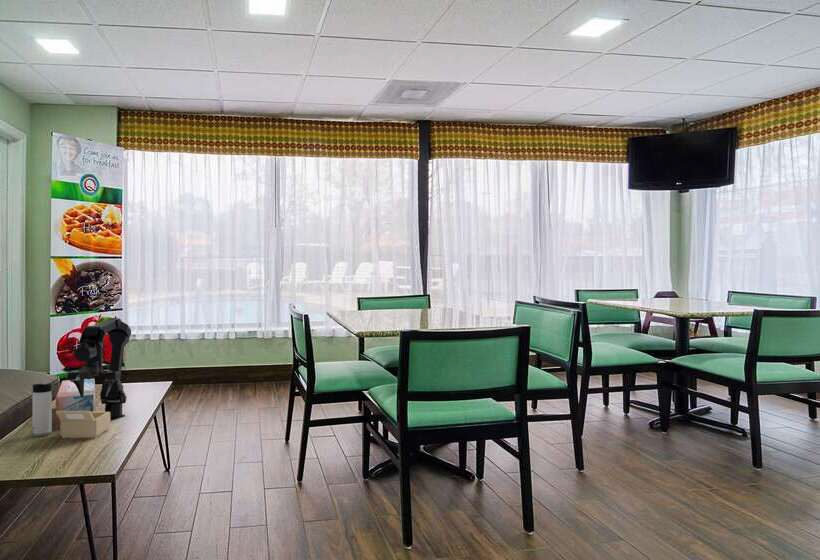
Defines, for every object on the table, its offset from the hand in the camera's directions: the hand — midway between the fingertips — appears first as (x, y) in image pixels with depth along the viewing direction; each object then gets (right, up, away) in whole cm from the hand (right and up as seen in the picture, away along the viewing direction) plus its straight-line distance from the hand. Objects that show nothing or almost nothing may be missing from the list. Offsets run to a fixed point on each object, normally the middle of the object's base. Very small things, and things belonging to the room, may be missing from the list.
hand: (93, 396), depth 236 cm
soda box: (-19, -13, +21) cm, 31 cm away
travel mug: (-16, -13, -8) cm, 22 cm away
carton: (0, -13, -6) cm, 15 cm away
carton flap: (+1, -4, -15) cm, 15 cm away
